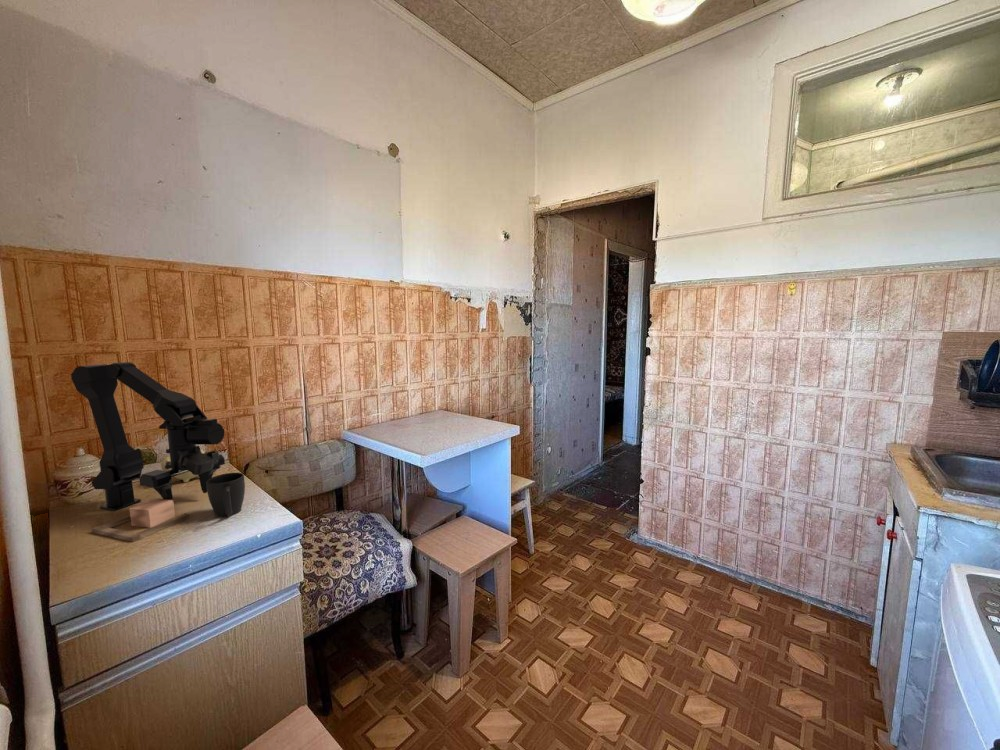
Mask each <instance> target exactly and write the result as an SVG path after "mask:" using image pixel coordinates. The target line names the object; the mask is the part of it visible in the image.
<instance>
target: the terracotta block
mask: <svg viewBox="0 0 1000 750" xmlns="http://www.w3.org/2000/svg"><path fill="white" fill-rule="evenodd" d="M175 513H176V512H175V504H174V499H173V500H166V499H163V498H152V499H150V500H148V501H145V502H142V503H140V504H138V505H134V506H132V507H129V515H130V517H131V520H130V523H131V526H132V527H138V528H140V527H141V528H146V529H149V528H151V527H153V526H156V525H158V524H161V523H163V522H165V521H168V520H170V519H173V518H175V517H176V514H175Z"/></svg>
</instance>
